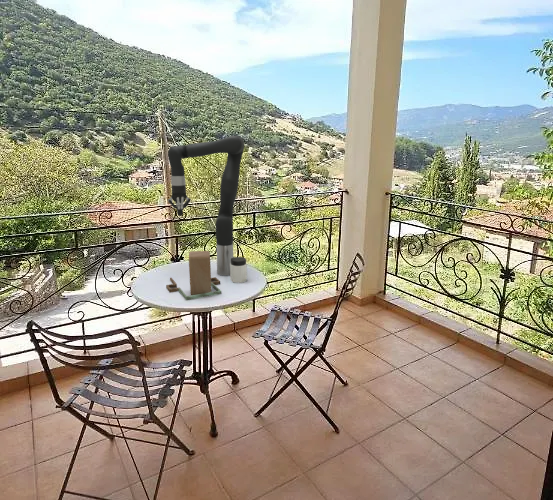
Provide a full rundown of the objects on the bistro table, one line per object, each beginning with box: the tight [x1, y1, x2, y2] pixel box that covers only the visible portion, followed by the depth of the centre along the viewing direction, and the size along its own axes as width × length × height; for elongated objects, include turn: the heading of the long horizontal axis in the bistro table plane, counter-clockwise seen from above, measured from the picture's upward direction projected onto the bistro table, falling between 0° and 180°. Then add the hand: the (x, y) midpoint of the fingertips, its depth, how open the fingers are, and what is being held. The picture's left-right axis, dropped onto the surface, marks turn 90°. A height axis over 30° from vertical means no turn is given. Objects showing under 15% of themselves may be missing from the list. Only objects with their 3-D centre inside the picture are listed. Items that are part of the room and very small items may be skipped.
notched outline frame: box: [165, 276, 222, 301], centre depth 199 cm, size 26×30×2 cm
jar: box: [229, 256, 248, 284], centre depth 208 cm, size 9×8×12 cm
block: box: [188, 250, 212, 296], centre depth 190 cm, size 10×10×20 cm
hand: (180, 215), depth 215 cm, fingers closed
